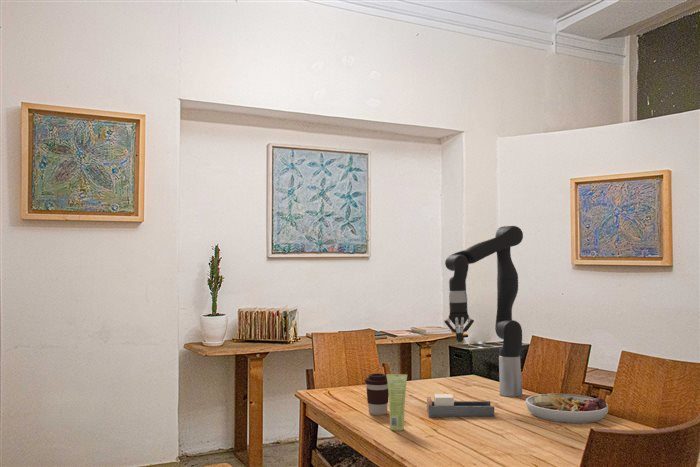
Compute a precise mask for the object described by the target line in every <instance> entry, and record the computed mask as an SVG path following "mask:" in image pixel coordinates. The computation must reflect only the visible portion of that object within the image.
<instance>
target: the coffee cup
mask: <svg viewBox="0 0 700 467" xmlns="http://www.w3.org/2000/svg"><path fill="white" fill-rule="evenodd" d="M364 383H365V384H366V399H367V405H368V413H369V414H370V415H374V416H383V415H386V414H387V413H388V405H389V393H388V383H387V377H386V374H385V373H379V372H378V373H370V374H368V376H367V377H366V378H364Z"/></svg>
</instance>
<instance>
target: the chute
mask: <svg viewBox="0 0 700 467" xmlns="http://www.w3.org/2000/svg"><path fill="white" fill-rule="evenodd" d="M426 412H427V416H428V418H496V417H495V406H494V405H492V403H491V401H490V400H487V401H486V400H468V401H467V400H466V401H465V400H461V401H460V400H458V401H457V400H456V401H455V400H454V406H434V400H433V399H432V397H431V396H427V397H426Z"/></svg>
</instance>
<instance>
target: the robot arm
mask: <svg viewBox="0 0 700 467" xmlns="http://www.w3.org/2000/svg"><path fill="white" fill-rule="evenodd" d="M523 238H524V232H523V230H522V229H521V228H520V227H518V226H516V225H507V226H506V225H504V226H499V227H498V229H497V230H496V231H495V236H494V237H493V238H491V239H487V240H483V241H481V242H478V243H475V244H474V245H472V246H470V247H468V248H466V249H464V250H460V251H457V252H454V253H452V254H450V255H447V258H446V259H445V261H444V265H445V267H446V269H447V270H449V271H450V272H451V271H452V272H453V276H451V277H450V278H449V282H448V284H449V289H448V290H449V291H448V292H449V295H448V300H449V305H448V306H449V314H448V318H446V319H444V324H445V325H446V326H447V327H448V329H449V330H450V331H452V332H453V333H455V339H456V341H457V343H463V342H464V333H466V332H467V331H469V329H470V328H471V327H472V325H473V323H474V319H472V317H471V318H470V315H469V313H468V294H467V284H466V283H467V281H466V280H467V277H468V271H469V265H471V264H475V263H478V262H479V261H481V260H483V259H485V258H487V257H489V256H491V255H493V254H495V253H496V265H497V266H496V267H497V268H496V270H497V275H496V283H497V284H496V289H497V292H496V293H497V294H496V295H497V296H496V297H497V298H496V301H497V302H496V317H495V326H494V328H495V329H494V330H495V333H496V336H497V337H498V338H499V339H502V340H503V341H502V347H500V348H499V350H498V369H499V370H498V371H499V372H498V373H499V374H498V375H499V378H498V379H499V395H501V396H504V397H510V398H512V397H514V398H515V397H523V374H522V372H521V368H522V367H521V352H522V348H523V328H522V325H521V324H520V323H519V322H518V321H517V320H513V306H514V304H515V300H516V298H517V294H518V292H519V274H518V271H517V269H516V267H515V264H514V262H513V260H512V256H511V247H515V246H518V245H520V243H522V241H523ZM466 322H467V323H466ZM451 323H452V324H453V325H454V327H453V326H452V324H451ZM465 324H466V325H465ZM464 325H465V326H464Z"/></svg>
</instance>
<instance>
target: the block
mask: <svg viewBox="0 0 700 467" xmlns="http://www.w3.org/2000/svg"><path fill="white" fill-rule="evenodd" d="M433 395H434V396H433V401H434V406H454V401H455V399H454V398H455V397H454V395H453V394H452V393H449V394H448V393H447V394H446V393H441V394H440V393H435V394H433Z"/></svg>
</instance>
